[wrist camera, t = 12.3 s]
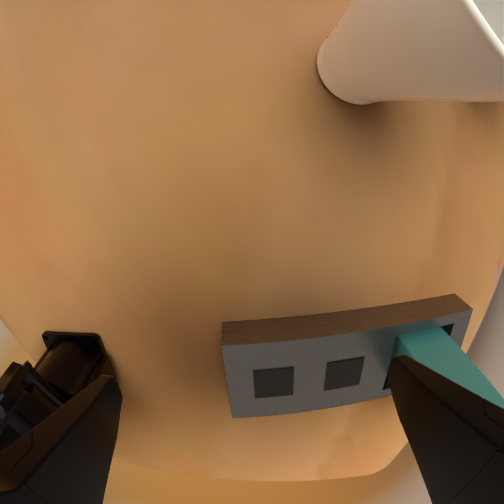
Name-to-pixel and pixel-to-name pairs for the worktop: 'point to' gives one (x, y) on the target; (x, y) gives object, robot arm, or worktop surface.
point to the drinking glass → (416, 51)
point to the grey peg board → (325, 354)
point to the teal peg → (446, 361)
